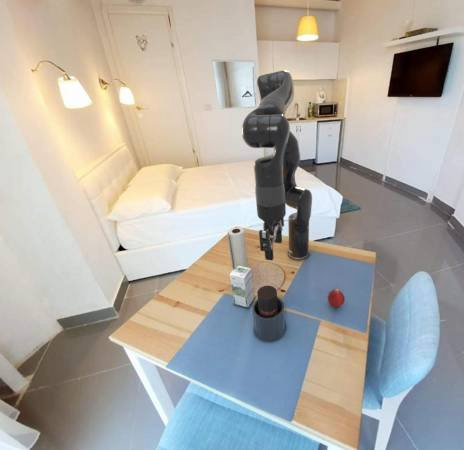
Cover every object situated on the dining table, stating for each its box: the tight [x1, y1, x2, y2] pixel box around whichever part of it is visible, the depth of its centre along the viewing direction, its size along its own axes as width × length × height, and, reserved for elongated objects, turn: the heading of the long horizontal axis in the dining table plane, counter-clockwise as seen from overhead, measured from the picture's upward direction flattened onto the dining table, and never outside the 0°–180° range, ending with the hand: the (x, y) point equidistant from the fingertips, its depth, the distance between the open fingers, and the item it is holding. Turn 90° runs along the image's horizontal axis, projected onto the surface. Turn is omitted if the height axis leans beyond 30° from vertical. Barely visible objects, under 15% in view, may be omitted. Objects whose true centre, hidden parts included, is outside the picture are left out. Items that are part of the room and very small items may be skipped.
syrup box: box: [229, 265, 255, 308], centre depth 90 cm, size 6×6×14 cm
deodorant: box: [256, 285, 278, 318], centre depth 79 cm, size 6×6×15 cm
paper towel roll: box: [227, 226, 249, 271], centre depth 102 cm, size 7×6×21 cm
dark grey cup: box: [251, 296, 286, 342], centre depth 80 cm, size 10×10×10 cm
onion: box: [327, 288, 346, 308], centre depth 88 cm, size 6×6×8 cm
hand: (274, 250), depth 72 cm, fingers open, 8 cm apart
